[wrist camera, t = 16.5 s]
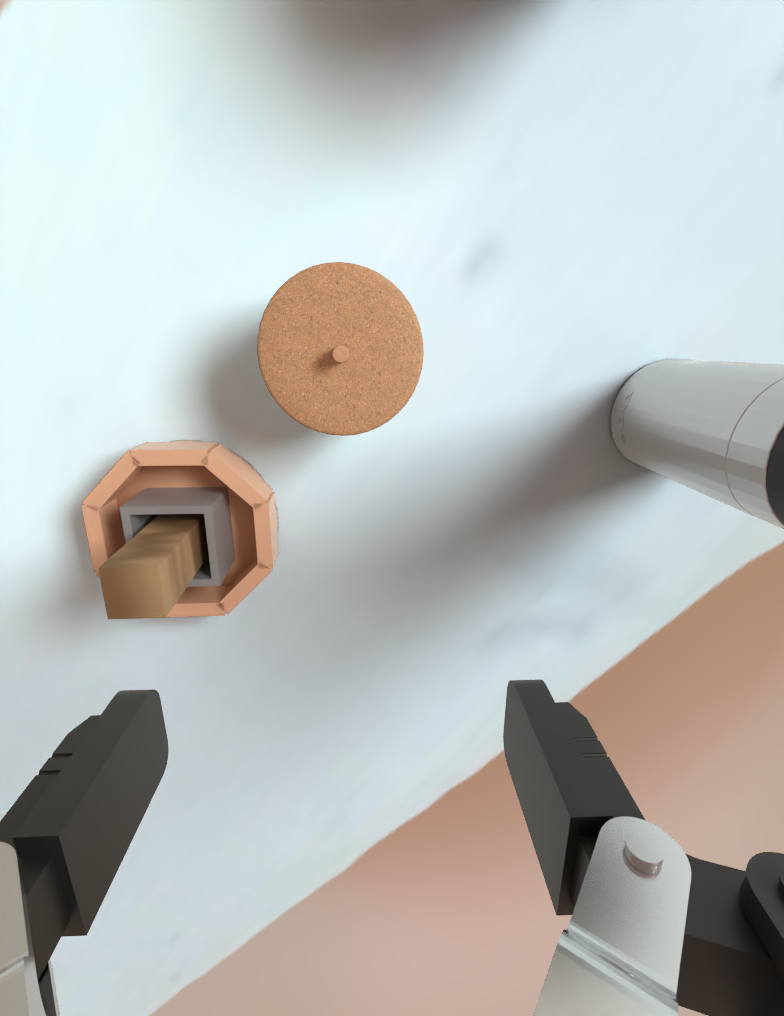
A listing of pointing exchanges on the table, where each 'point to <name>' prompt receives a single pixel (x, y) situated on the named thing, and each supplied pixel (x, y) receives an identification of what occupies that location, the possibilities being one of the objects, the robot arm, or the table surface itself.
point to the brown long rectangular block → (154, 567)
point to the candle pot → (190, 490)
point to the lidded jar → (340, 348)
